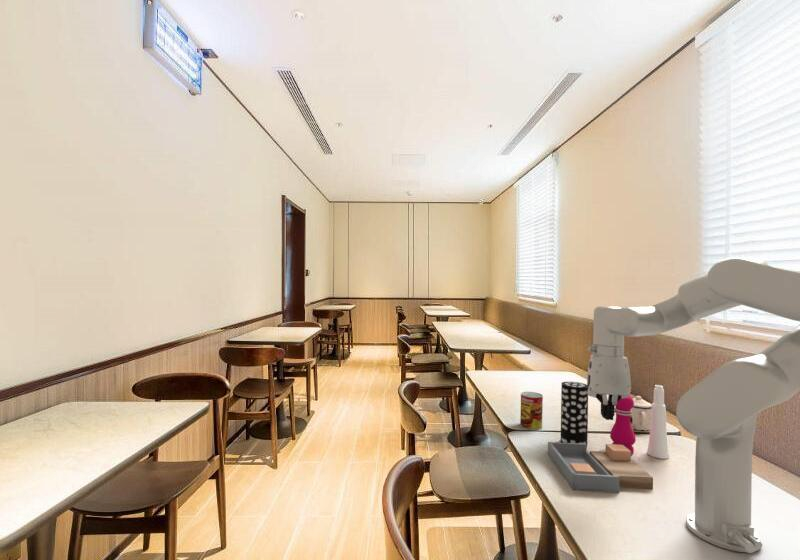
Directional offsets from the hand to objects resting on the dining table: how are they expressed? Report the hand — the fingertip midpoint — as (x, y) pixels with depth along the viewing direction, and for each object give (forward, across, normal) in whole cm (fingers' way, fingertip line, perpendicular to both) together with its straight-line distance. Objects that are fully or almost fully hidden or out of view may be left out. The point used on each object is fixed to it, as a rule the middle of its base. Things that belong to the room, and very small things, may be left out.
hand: (607, 418), depth 110 cm
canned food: (+17, -9, +42) cm, 46 cm away
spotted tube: (+17, +1, +26) cm, 31 cm away
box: (+17, -5, +5) cm, 18 cm away
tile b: (+14, +8, +10) cm, 19 cm away
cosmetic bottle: (+17, +25, +19) cm, 36 cm away
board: (+17, +6, +5) cm, 18 cm away
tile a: (+14, -6, +1) cm, 15 cm away
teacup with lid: (+17, +32, +44) cm, 57 cm away
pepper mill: (+17, +15, +22) cm, 31 cm away
